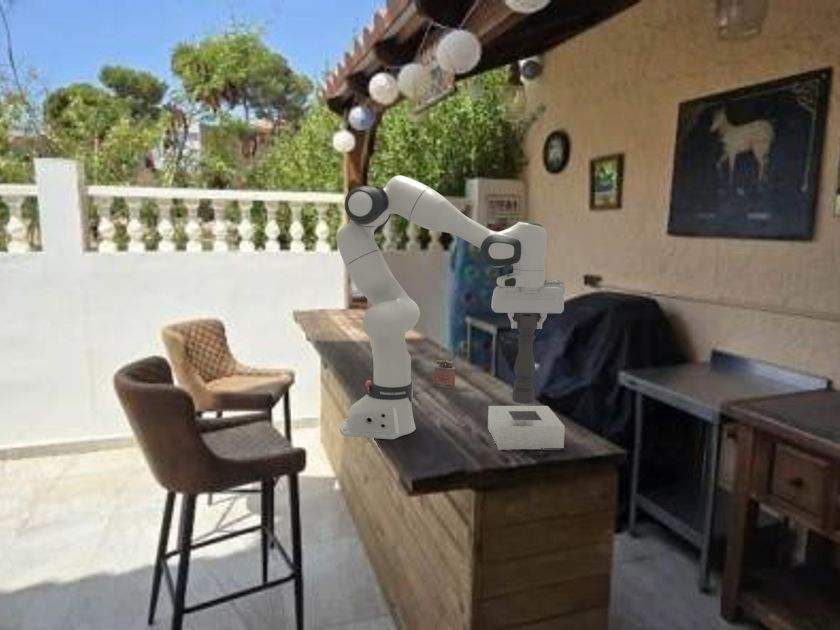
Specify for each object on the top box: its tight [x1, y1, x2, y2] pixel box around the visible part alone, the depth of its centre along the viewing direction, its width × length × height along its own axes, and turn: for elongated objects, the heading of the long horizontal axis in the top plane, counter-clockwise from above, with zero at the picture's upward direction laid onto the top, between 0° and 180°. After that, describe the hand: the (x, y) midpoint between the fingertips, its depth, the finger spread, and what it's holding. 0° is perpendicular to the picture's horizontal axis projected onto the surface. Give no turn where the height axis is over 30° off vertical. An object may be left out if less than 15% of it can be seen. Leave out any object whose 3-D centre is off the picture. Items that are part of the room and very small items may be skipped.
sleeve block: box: [487, 405, 566, 450], centre depth 172 cm, size 18×18×7 cm
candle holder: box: [512, 313, 538, 405], centre depth 171 cm, size 6×6×25 cm
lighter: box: [433, 359, 456, 389], centre depth 225 cm, size 8×3×10 cm, turn 74°
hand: (526, 328), depth 170 cm, fingers closed on candle holder, 6 cm apart
